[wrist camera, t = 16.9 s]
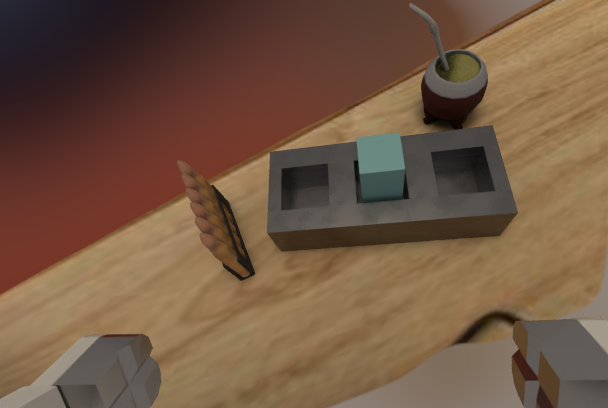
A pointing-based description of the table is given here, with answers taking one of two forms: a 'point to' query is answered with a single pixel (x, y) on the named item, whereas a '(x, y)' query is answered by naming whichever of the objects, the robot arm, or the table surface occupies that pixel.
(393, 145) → the square peg
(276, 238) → the block with square holes
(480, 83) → the mate gourd
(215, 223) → the ammunition clip
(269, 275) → the table surface
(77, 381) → the robot arm
